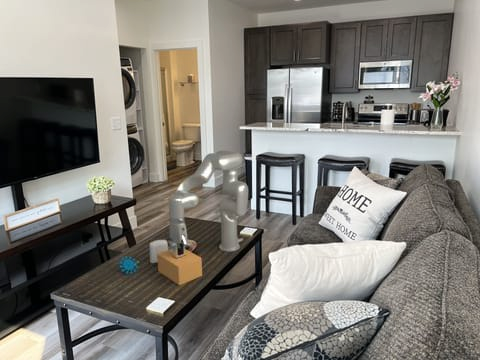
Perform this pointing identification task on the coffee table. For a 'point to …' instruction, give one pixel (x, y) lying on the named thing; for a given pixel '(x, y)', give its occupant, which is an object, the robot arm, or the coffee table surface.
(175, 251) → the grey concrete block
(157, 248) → the photo printer
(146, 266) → the coffee table surface
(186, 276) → the tissue box
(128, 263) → the gear
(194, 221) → the coffee table surface
